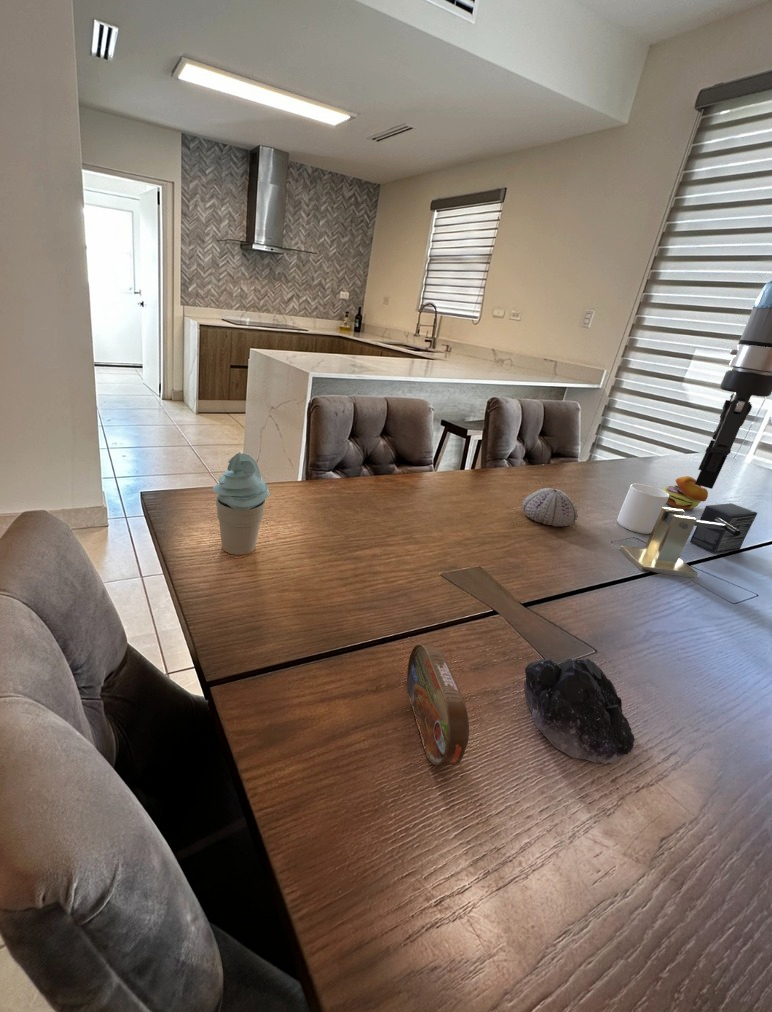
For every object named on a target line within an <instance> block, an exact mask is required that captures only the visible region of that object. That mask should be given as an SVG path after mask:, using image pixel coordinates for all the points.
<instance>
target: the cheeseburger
mask: <svg viewBox="0 0 772 1012" xmlns="http://www.w3.org/2000/svg"><path fill="white" fill-rule="evenodd" d="M696 480H697V479H695V478H694V477H692V476H688V475H686V476H680V477H677V478H676V479H675V483H676V485H669V486H665V487H664V488H663V489H661V490H663V491H665V492H667V493H668V494H669V498H668V501H667V503H666V504H668V505H670V506H672V507H674V508H675V509H681V510H693V509H694V508H696V507H698V505H700V503H702V502H706V501H707V499H708V497H709V492H708V490H707V488H706V487H703V486H699V485H695V482H696Z"/></svg>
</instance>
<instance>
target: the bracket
mask: <svg viewBox="0 0 772 1012" xmlns="http://www.w3.org/2000/svg"><path fill="white" fill-rule="evenodd" d="M668 513H675V514H682V515H683V516H678V515H673V518H672V520H671V522H670V524H669V525H668V524H666V523H665V520H666V518H667V516H668ZM685 513H686V512H685V509H681V508H675V507H674V508H673V507H666V506H665V507H662V509H661V511H660V514H659V516H658V518H657V521H656V523H655V525H654V527H653V530H652V532H651V533H650V534H649V537H648V539H647V542H646V544H645V546H644V548H642V547H634V546H626V545H621V546H620V549H619V551H620V552H621V553H622V554H623V555H624V556H625V557H626V558H627V559H628V560H629V561H630V562H631V563H632V564H633V565H634V566H635V567H636V568H638V569H639V571H641V572H647V573H654V574H655V573H656V574H663V575H670V576H677V577H685V578H692V579H697V577H698V576H699V572H697V571H696V570H695V569H694V568H693V567H691V566H690V565H689V564H687V562H685V561H684V560H683V559H682V558H680V557H681V555H682V553H683V550H684V548H685V546H686V545H687V542H688V540H689V538H690V536H691V534H692V533H693V529H694V527H695V526H694V525H695V523H696V521H697V520H698V519H697V518H696V517H692V516H687V515H686V516H685Z"/></svg>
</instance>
